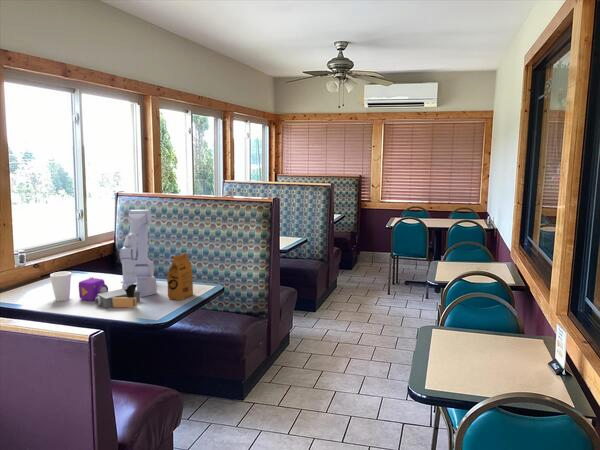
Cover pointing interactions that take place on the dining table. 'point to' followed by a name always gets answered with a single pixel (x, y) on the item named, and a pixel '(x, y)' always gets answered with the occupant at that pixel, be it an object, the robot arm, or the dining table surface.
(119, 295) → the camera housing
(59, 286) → the foam cup
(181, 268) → the coffee package
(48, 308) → the dining table surface
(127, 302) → the door
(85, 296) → the toy camera
